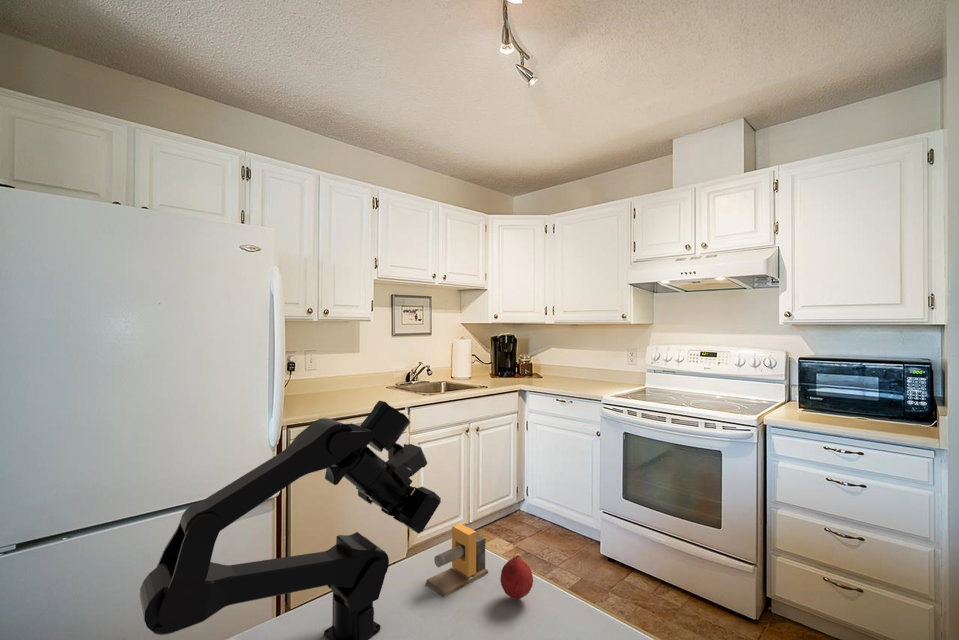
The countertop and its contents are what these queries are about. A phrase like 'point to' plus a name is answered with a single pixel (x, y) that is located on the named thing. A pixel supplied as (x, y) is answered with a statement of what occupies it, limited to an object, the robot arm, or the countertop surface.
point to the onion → (516, 578)
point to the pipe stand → (452, 576)
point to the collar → (467, 539)
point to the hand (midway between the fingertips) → (424, 520)
